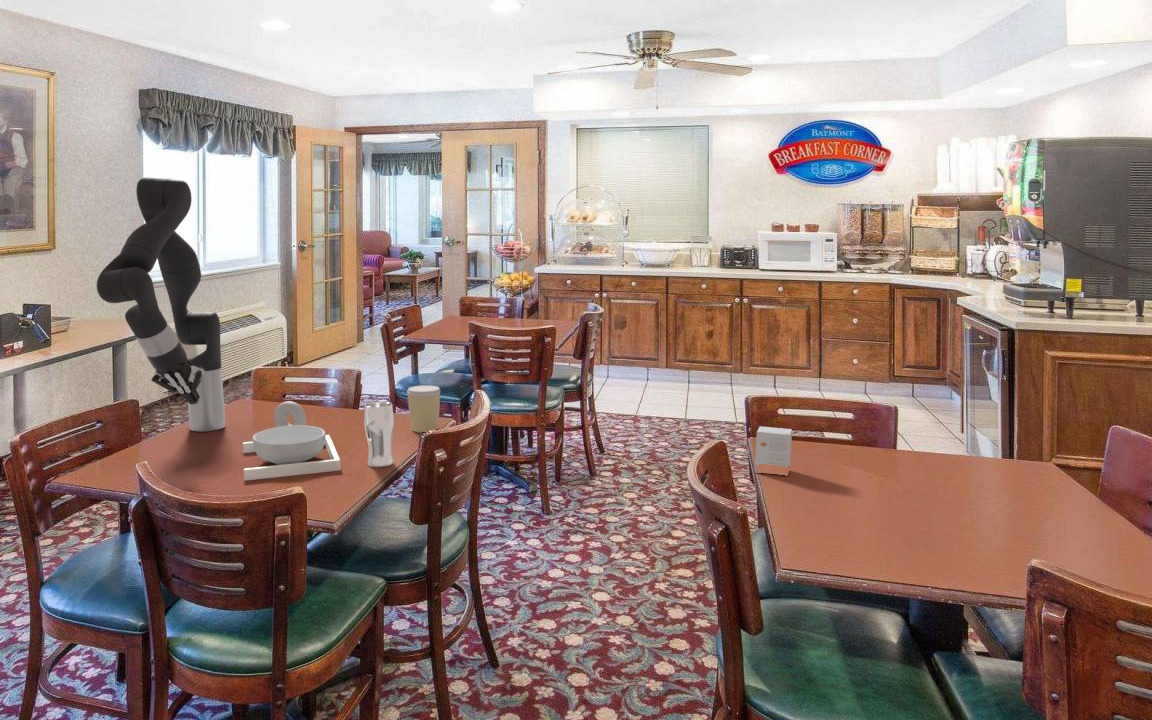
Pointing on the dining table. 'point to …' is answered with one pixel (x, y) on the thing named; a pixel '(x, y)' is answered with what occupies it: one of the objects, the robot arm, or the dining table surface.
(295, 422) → the donut
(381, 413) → the beer glass
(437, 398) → the coffee cup
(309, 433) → the cereal bowl
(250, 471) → the bowl bay
